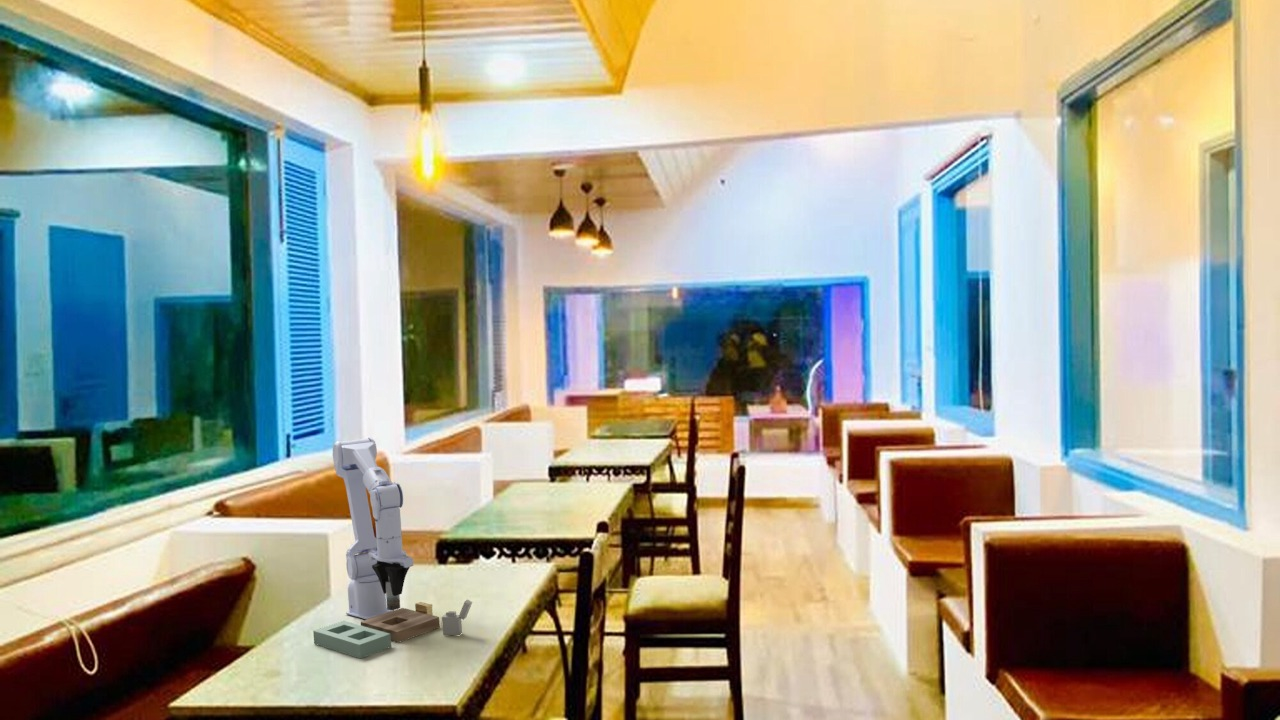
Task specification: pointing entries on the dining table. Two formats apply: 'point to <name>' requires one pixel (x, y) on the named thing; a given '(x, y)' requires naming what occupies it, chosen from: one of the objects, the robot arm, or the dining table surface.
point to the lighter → (455, 620)
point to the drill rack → (352, 639)
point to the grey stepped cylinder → (391, 597)
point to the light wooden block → (424, 608)
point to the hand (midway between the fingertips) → (392, 593)
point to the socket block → (403, 623)
